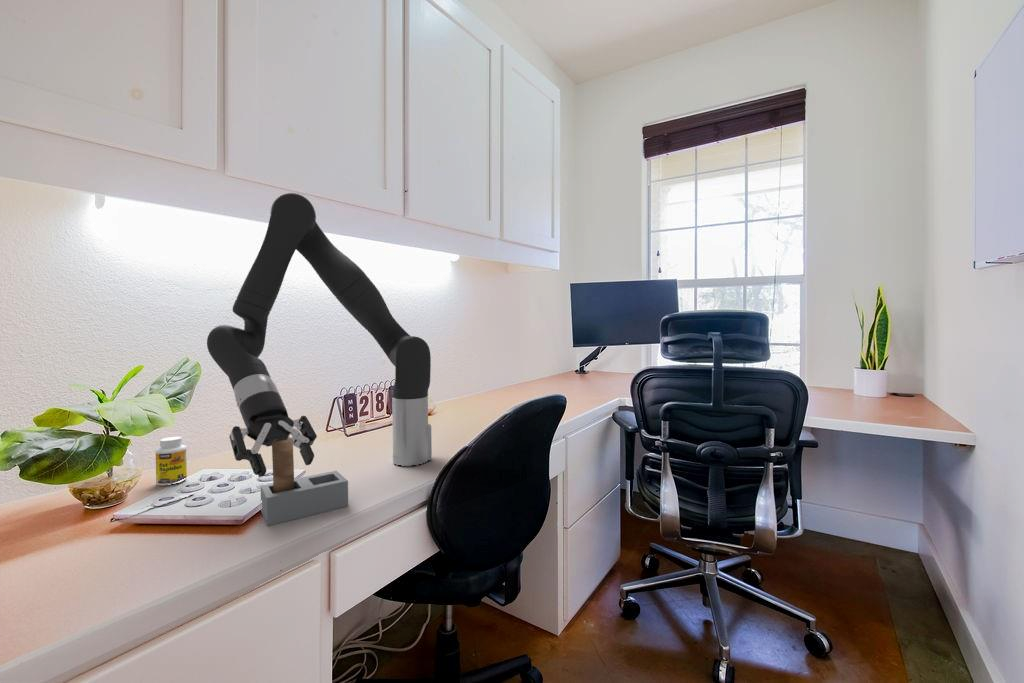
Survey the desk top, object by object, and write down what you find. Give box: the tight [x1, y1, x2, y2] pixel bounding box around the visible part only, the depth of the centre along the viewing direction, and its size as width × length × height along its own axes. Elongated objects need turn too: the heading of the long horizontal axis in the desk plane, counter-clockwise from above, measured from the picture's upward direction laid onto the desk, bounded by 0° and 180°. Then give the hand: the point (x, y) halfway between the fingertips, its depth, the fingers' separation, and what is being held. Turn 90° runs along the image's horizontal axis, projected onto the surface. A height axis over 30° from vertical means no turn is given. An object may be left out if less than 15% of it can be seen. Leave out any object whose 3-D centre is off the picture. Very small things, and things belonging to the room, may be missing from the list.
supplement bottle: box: [155, 436, 188, 486], centre depth 98 cm, size 6×6×10 cm
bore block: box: [260, 470, 349, 527], centre depth 83 cm, size 14×8×5 cm, turn 128°
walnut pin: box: [271, 440, 295, 494], centre depth 81 cm, size 4×4×12 cm
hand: (287, 468), depth 80 cm, fingers open, 8 cm apart
